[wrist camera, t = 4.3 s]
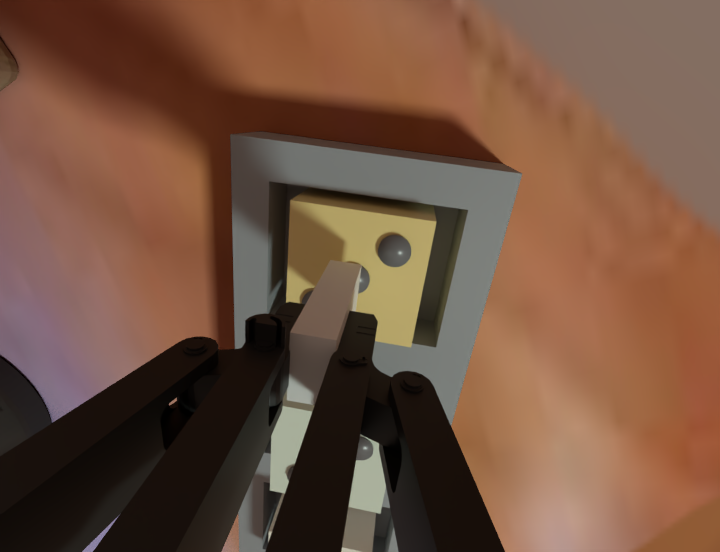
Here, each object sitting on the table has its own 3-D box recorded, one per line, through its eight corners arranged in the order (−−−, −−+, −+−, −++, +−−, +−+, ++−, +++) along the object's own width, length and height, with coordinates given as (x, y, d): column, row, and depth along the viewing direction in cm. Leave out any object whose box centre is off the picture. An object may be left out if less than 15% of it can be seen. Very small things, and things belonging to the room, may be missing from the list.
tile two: (289, 440, 27) (268, 493, 23) (293, 361, 24) (270, 406, 21) (385, 459, 27) (380, 516, 23) (400, 380, 24) (397, 430, 20)
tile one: (284, 536, 32) (266, 594, 28) (287, 478, 29) (267, 534, 25) (366, 554, 31) (359, 616, 27) (377, 497, 28) (371, 557, 25)
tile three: (304, 294, 25) (283, 327, 21) (311, 186, 22) (289, 201, 18) (411, 312, 24) (410, 349, 20) (433, 203, 21) (436, 222, 17)
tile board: (257, 513, 36) (239, 558, 32) (261, 131, 22) (230, 134, 18) (404, 545, 35) (403, 595, 31) (503, 163, 21) (522, 173, 17)
